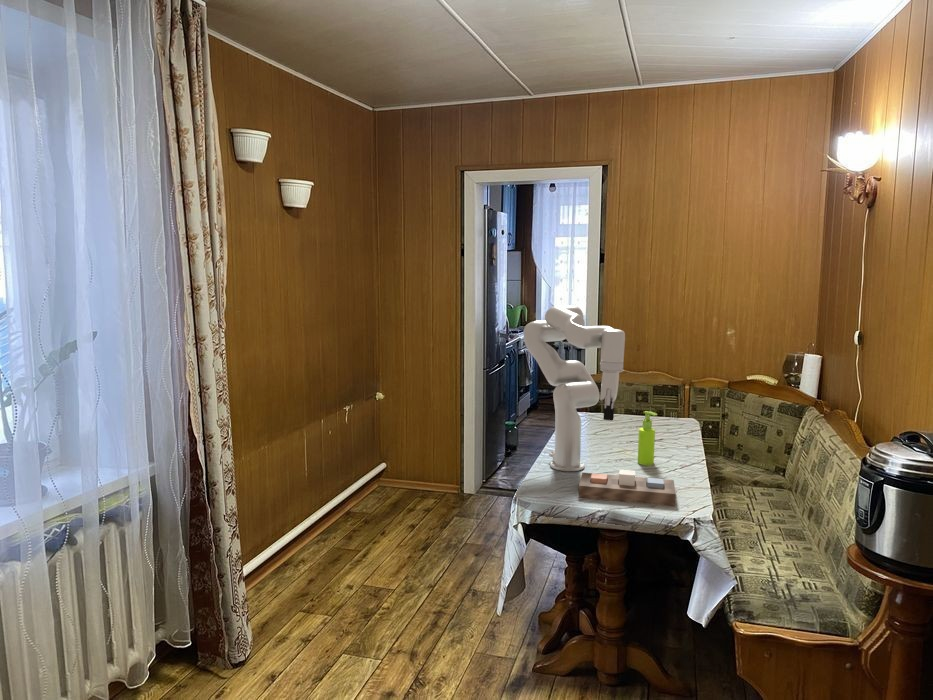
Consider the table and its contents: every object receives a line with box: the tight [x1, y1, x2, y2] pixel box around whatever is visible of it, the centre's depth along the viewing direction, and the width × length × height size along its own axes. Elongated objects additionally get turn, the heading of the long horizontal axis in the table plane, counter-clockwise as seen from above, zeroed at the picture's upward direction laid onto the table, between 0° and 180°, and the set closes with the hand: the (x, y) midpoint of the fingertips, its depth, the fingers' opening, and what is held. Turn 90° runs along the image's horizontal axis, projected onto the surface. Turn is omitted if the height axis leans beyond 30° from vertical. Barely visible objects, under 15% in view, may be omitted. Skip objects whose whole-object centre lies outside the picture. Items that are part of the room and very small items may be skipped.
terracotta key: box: [591, 472, 608, 484], centre depth 221 cm, size 5×5×4 cm
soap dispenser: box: [637, 410, 658, 466], centre depth 252 cm, size 6×7×20 cm
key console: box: [577, 472, 677, 507], centre depth 219 cm, size 30×14×4 cm, turn 75°
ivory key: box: [618, 469, 636, 486], centre depth 218 cm, size 5×5×4 cm
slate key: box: [646, 477, 664, 489], centre depth 216 cm, size 5×5×4 cm
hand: (608, 419), depth 225 cm, fingers closed
